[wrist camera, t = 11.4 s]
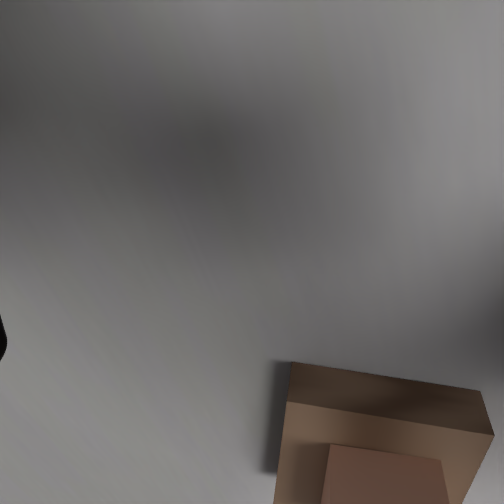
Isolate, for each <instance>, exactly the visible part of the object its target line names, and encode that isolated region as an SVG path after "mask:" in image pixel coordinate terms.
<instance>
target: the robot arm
mask: <svg viewBox="0 0 504 504" xmlns="http://www.w3.org/2000/svg"><path fill="white" fill-rule="evenodd" d="M6 347H7V337H6V333H5V330H4V326H3V323H2V319H1V316H0V361H1V359H2V357H3V355H4V353H5V351H6Z"/></svg>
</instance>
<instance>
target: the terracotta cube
mask: <svg viewBox="0 0 504 504" xmlns="http://www.w3.org/2000/svg"><path fill="white" fill-rule="evenodd" d="M321 504H450V502H449V498H448V493H447V488H446V483H445V479H444V474H443V469H442V464H441V460H436V459H430V458H423V457H416V456H409V455H402V454H395V453H389V452H382V451H375V450H368V449H361V448H354V447H347V446H341V445H334V444H330V450H329V456H328V462H327V468H326V474H325V481H324V487H323V493H322V499H321Z"/></svg>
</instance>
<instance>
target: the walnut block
mask: <svg viewBox="0 0 504 504" xmlns="http://www.w3.org/2000/svg"><path fill="white" fill-rule="evenodd" d="M494 436H495V435H494V432H493V429H492V426H491V423H490V420H489V417H488V414H487V411H486V407H485V404H484V401H483V398H482V395H481V392H480V391H476V390H470V389H464V388H457V387H451V386H444V385H438V384H432V383H425V382H419V381H412V380H406V379H400V378H393V377H387V376H380V375H374V374H368V373H361V372H355V371H349V370H342V369H336V368H329V367H323V366H317V365H310V364H304V363H297V362H292V365H291V373H290V380H289V388H288V396H287V403H286V411H285V418H284V426H283V433H282V441H281V449H280V456H279V464H278V471H277V479H276V487H275V494H274V502H273V504H321V499H322V493H323V487H324V481H325V474H326V468H327V462H328V456H329V450H330V444H334V445H341V446H347V447H354V448H361V449H368V450H375V451H382V452H389V453H395V454H402V455H409V456H416V457H423V458H430V459H436V460H441V464H442V469H443V474H444V479H445V483H446V488H447V493H448V498H449V502H450V504H462V502H463V500H464V498H465V496H466V494H467V492H468V490H469V488H470V486H471V484H472V482H473V479H474V477H475V475H476V473H477V471H478V469H479V467H480V465H481V463H482V461H483V459H484V457H485V455H486V453H487V451H488V449H489V447H490V444H491V442H492V440H493V438H494Z"/></svg>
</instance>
